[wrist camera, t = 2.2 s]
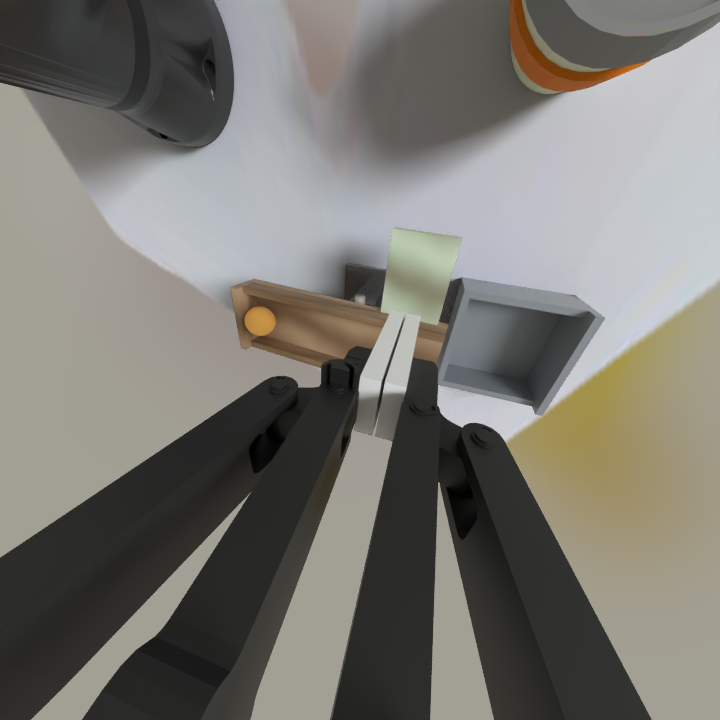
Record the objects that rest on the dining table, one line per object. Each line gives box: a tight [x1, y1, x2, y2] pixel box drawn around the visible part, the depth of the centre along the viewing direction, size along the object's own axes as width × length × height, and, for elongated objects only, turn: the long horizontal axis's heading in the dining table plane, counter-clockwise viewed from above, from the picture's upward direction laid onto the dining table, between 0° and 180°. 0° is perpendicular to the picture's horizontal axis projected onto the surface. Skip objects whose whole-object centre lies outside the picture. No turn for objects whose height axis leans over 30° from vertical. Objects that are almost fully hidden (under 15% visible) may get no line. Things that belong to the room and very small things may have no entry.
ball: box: [244, 306, 276, 336], centre depth 32 cm, size 4×4×4 cm
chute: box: [230, 227, 462, 368], centre depth 29 cm, size 17×24×5 cm
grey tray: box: [436, 278, 605, 416], centre depth 33 cm, size 13×13×7 cm
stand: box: [344, 263, 387, 308], centre depth 36 cm, size 12×8×7 cm, turn 175°
